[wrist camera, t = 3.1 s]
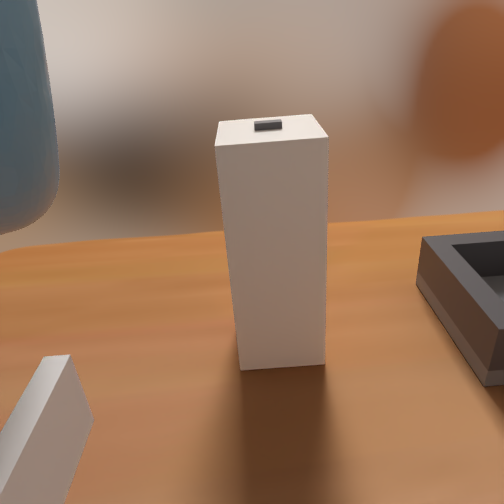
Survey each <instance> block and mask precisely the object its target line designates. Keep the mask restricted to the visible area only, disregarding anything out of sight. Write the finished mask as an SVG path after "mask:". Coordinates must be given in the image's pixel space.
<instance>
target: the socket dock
mask: <svg viewBox="0 0 504 504" xmlns="http://www.w3.org/2000/svg"><path fill="white" fill-rule="evenodd" d="M416 285H417V286H418V288H419V289H420V291H421V292H422V294H423V295H424V297H425V298H426V300H427V301H428V303H429V304H430V306H431V307H432V309H433V310H434V312H435V313H436V315H437V316H438V318H439V319H440V321H441V322H442V324H443V325H444V327H445V329H446V330H447V332H448V333H449V335H450V336H451V338H452V339H453V341H454V342H455V344H456V345H457V347H458V348H459V350H460V351H461V353H462V354H463V356H464V357H465V359H466V360H467V362H468V363H469V365H470V366H471V368H472V369H473V371H474V372H475V374H476V375H477V377H478V378H479V380H480V381H481V383H482V384H483V386H496V385H504V231H494V232H480V233H467V234H454V235H441V236H428V237H422V242H421V250H420V257H419V264H418V271H417V279H416Z"/></svg>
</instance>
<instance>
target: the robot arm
mask: <svg viewBox="0 0 504 504" xmlns="http://www.w3.org/2000/svg"><path fill="white" fill-rule="evenodd" d="M58 183H59V159H58V145H57V135H56V126H55V118H54V110H53V102H52V95H51V88H50V81H49V75H48V67H47V60H46V54H45V48H44V41H43V34H42V29H41V23H40V18H39V12H38V6H37V1H36V0H0V235H2V234H5V233H9V232H12V231H16V230H19V229H22V228H24V227H26V226H28V225H30V224H32V223H34V222H35V221H36V220H38V219H39V218H40V217H41V216H43V215H44V213H46V211H47V210H48V209H49V208H50V206H51V205H52V203H53V200H54V199H55V197H56V193H57V190H58ZM93 422H94V418H93V415H92V412H91V410H90V407H89V404H88V402H87V399H86V396H85V393H84V391H83V388H82V385H81V382H80V380H79V377H78V374H77V372H76V369H75V366H74V363H73V361H72V358H71V355H60V356H46V357H44V358H43V359H42V361H41V363H40V365H39V366H38V368H37V370H36V371H35V373H34V375H33V377H32V378H31V380H30V382H29V384H28V385H27V387H26V389H25V391H24V392H23V394H22V396H21V398H20V399H19V401H18V403H17V405H16V406H15V408H14V410H13V412H12V413H11V415H10V417H9V419H8V420H7V422H6V424H5V426H4V427H3V429H2V431H1V432H0V504H64V502H65V500H66V497H67V494H68V491H69V488H70V486H71V483H72V480H73V477H74V475H75V472H76V469H77V466H78V463H79V461H80V458H81V455H82V452H83V450H84V447H85V444H86V441H87V438H88V436H89V433H90V430H91V427H92V425H93Z"/></svg>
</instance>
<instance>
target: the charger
mask: <svg viewBox="0 0 504 504" xmlns="http://www.w3.org/2000/svg"><path fill="white" fill-rule="evenodd" d="M328 145H329V137H328V136H327V134H326V133H325V132H324V130H323V129H322V127H321V126H320V125H319V123H318V122H317V121H316V119H315V118H314V117H313V115H312V114H306V115H294V116H281V117H268V118H255V119H243V120H231V121H219V125H218V131H217V136H216V141H215V154H216V162H217V171H218V180H219V189H220V197H221V205H222V214H223V224H224V233H225V241H226V250H227V259H228V268H229V276H230V285H231V294H232V302H233V311H234V320H235V329H236V337H237V346H238V355H239V364H240V370H253V369H267V368H281V367H295V366H308V365H322V364H325V333H326V271H327V209H328V203H327V202H328V147H329V146H328Z"/></svg>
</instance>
